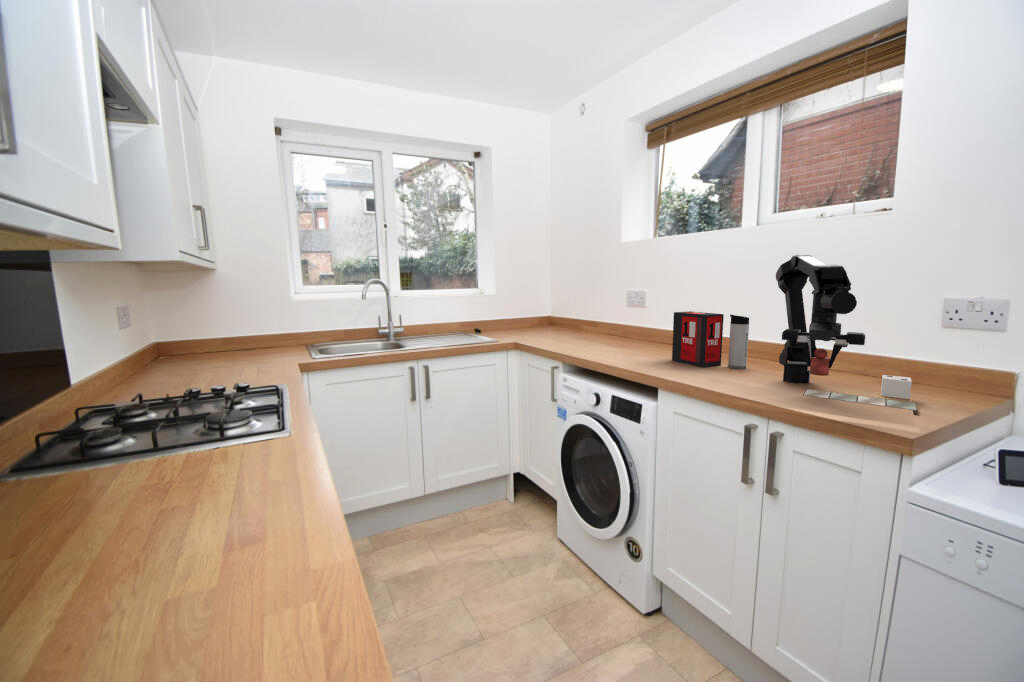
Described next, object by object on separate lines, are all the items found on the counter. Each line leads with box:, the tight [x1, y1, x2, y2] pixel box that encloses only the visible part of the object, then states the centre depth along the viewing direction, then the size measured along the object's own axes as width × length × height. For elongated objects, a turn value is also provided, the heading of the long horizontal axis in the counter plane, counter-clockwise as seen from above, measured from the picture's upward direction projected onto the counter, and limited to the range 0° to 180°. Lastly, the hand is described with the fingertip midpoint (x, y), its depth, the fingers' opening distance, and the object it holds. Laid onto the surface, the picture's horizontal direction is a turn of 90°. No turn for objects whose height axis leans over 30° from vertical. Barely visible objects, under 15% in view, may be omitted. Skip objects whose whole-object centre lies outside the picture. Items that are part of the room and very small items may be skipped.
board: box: [802, 388, 919, 416], centre depth 120 cm, size 24×9×1 cm, turn 51°
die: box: [880, 374, 913, 400], centre depth 123 cm, size 6×6×6 cm
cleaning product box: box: [671, 311, 725, 369], centre depth 176 cm, size 16×9×20 cm, turn 24°
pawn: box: [809, 347, 831, 377], centre depth 124 cm, size 4×4×7 cm
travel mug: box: [727, 314, 750, 370], centre depth 167 cm, size 6×7×20 cm
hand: (819, 367), depth 125 cm, fingers closed on pawn, 4 cm apart
